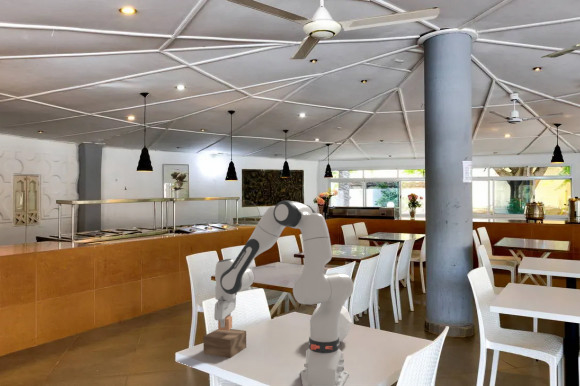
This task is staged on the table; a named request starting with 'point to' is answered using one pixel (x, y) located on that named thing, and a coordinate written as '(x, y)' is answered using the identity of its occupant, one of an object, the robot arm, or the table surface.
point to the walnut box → (225, 342)
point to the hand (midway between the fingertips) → (225, 324)
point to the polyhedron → (342, 323)
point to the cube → (226, 323)
